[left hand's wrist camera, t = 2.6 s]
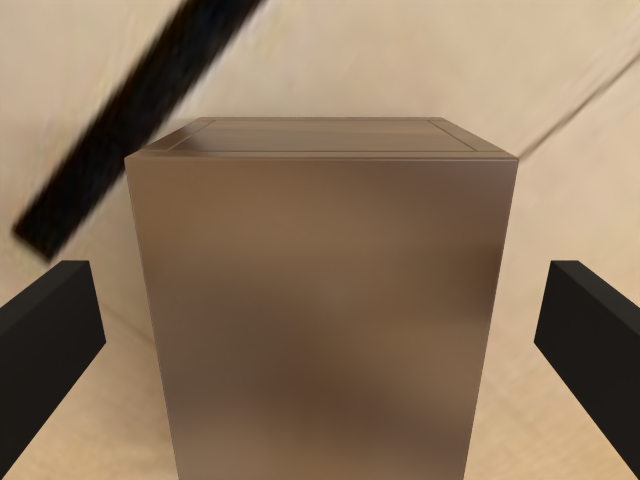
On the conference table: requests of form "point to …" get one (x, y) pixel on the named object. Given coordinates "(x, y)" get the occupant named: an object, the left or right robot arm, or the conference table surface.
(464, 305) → the cabinet
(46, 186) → the conference table surface
